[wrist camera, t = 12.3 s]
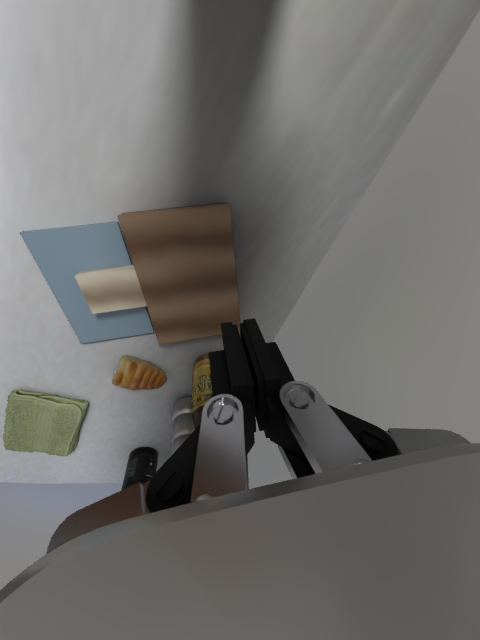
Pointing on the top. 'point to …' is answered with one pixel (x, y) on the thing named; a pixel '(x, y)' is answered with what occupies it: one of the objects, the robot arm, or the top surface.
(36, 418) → the washcloth
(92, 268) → the rubber mat
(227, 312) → the walnut stand
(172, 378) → the top surface
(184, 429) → the plastic bottle
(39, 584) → the robot arm
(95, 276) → the birch tile
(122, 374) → the pastry
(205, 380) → the sauce bottle
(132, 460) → the supplement bottle
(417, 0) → the top surface
